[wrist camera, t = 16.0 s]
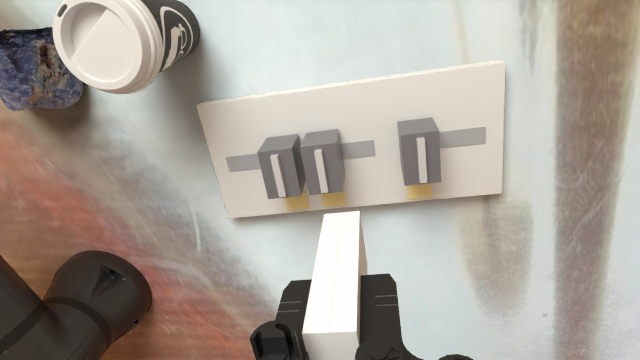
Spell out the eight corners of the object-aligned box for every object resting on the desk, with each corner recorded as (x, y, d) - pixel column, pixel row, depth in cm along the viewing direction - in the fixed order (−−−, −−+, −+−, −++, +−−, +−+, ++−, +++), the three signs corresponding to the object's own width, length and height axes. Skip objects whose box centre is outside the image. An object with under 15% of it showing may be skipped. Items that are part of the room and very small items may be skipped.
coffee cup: (188, -30, 45) (111, -39, 32) (226, 53, 48) (172, 77, 35) (118, 3, 47) (20, 8, 34) (159, 80, 51) (85, 113, 37)
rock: (56, 8, 46) (-6, 63, 40) (108, 80, 54) (62, 135, 48) (-13, 9, 49) (-79, 61, 43) (47, 77, 57) (-3, 128, 51)
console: (232, 211, 58) (228, 219, 56) (201, 102, 51) (195, 106, 49) (497, 186, 52) (502, 193, 50) (499, 59, 46) (505, 62, 44)
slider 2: (314, 177, 52) (308, 198, 46) (305, 132, 49) (298, 149, 44) (345, 174, 51) (342, 195, 46) (338, 128, 49) (335, 145, 43)
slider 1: (276, 181, 52) (266, 202, 47) (266, 137, 50) (255, 154, 45) (306, 178, 52) (300, 199, 46) (298, 133, 49) (290, 150, 44)
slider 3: (401, 168, 50) (405, 189, 45) (397, 121, 47) (401, 137, 42) (434, 164, 49) (442, 185, 44) (432, 117, 47) (440, 133, 42)
